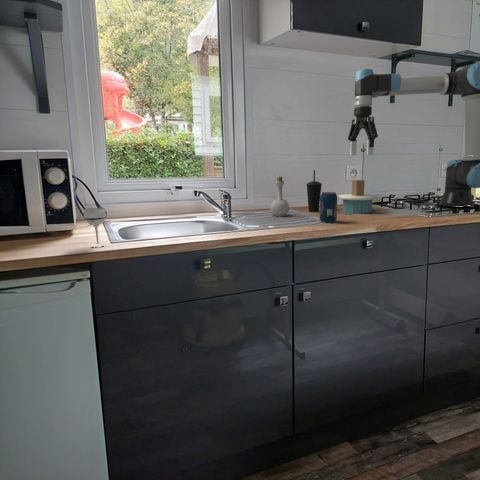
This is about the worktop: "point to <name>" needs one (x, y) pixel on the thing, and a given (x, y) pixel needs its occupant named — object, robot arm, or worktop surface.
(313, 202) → the drinking cup
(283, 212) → the potion bottle
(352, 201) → the bowl
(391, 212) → the mat
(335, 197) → the soda can
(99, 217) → the wineglass
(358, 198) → the lid
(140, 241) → the worktop surface
